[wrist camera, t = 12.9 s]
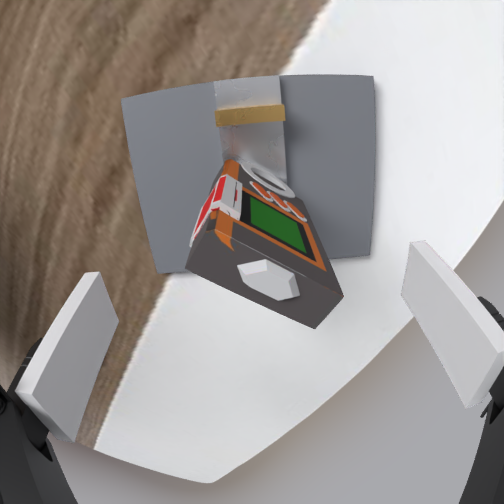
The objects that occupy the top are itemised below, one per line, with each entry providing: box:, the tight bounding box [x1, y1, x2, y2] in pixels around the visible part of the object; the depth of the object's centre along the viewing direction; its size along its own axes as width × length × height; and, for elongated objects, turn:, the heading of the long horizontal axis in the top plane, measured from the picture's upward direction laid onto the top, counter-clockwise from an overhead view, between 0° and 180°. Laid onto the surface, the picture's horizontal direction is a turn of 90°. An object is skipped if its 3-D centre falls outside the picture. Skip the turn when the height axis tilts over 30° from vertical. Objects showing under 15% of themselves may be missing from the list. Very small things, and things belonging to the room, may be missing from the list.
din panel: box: [121, 75, 375, 274], centre depth 27 cm, size 21×17×1 cm
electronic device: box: [185, 159, 344, 329], centre depth 20 cm, size 7×3×15 cm, turn 59°
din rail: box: [214, 75, 287, 185], centre depth 26 cm, size 5×17×3 cm, turn 5°
